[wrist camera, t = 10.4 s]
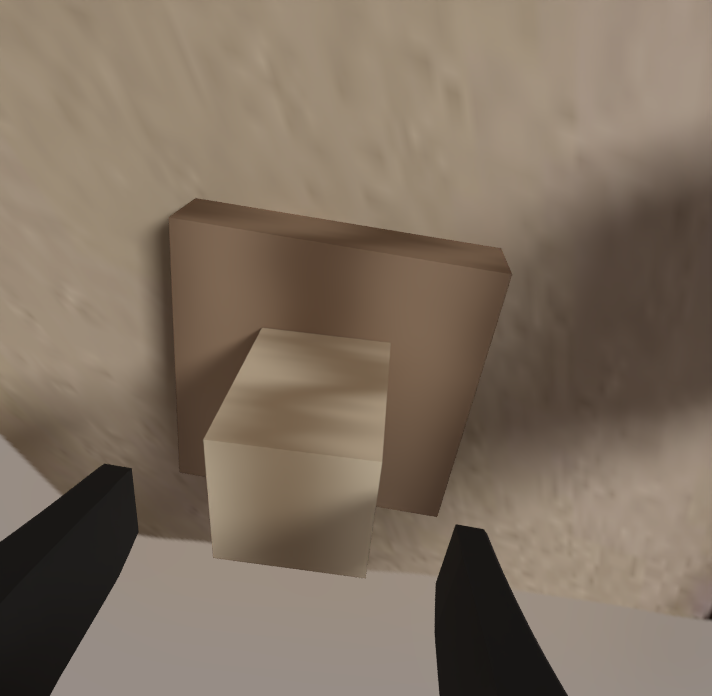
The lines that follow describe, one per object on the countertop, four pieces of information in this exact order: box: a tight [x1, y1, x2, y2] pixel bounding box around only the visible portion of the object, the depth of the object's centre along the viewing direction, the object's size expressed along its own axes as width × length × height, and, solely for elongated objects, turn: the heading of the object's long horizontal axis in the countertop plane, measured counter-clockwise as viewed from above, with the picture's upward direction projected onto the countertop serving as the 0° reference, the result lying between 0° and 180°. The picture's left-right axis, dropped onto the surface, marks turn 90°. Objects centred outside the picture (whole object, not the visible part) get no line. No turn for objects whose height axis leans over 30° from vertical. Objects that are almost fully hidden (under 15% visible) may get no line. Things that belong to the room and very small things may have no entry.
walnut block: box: [169, 198, 512, 517], centre depth 21 cm, size 11×11×3 cm
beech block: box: [203, 328, 391, 578], centre depth 17 cm, size 4×4×6 cm
